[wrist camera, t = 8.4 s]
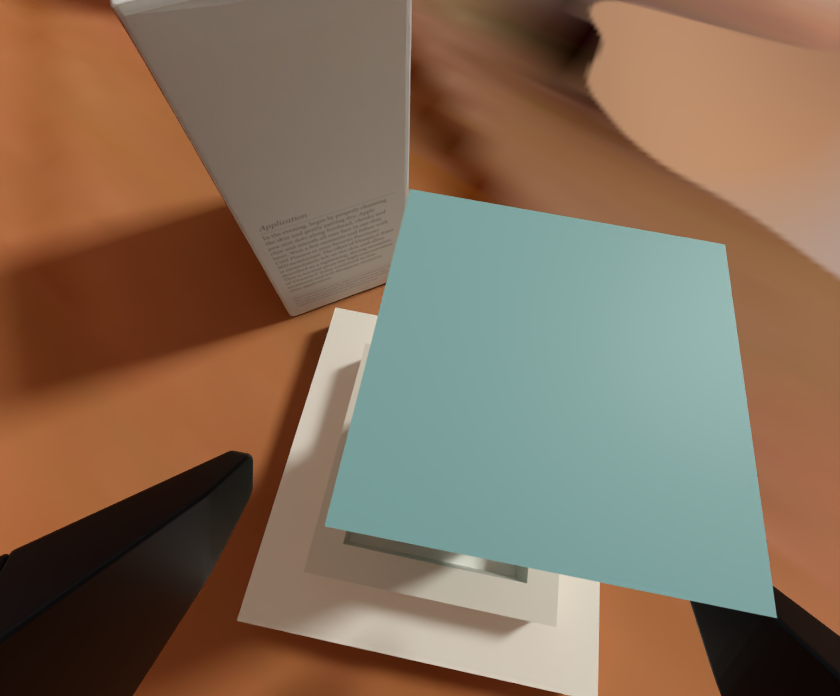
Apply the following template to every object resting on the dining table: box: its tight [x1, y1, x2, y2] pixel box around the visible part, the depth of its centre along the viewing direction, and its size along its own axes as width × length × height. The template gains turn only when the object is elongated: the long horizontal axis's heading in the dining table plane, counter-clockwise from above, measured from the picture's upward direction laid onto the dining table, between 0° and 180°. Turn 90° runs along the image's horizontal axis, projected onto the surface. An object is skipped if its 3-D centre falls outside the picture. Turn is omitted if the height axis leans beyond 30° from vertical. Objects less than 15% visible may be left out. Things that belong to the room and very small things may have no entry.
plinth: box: [237, 308, 600, 696], centre depth 15 cm, size 12×12×3 cm
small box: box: [109, 0, 412, 316], centre depth 15 cm, size 8×6×13 cm
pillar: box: [325, 189, 777, 618], centre depth 10 cm, size 4×4×12 cm
